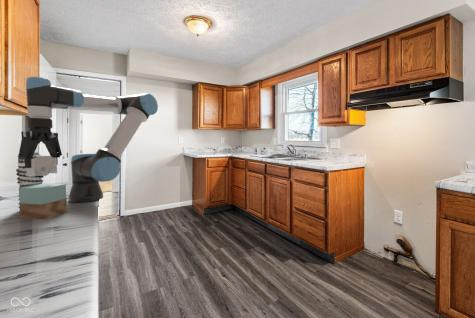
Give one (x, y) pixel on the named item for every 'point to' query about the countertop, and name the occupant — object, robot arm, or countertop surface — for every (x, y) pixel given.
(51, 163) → the die
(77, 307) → the countertop surface
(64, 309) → the countertop surface
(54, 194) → the tower top
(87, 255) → the countertop surface
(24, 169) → the decorative candle
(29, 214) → the tower base
